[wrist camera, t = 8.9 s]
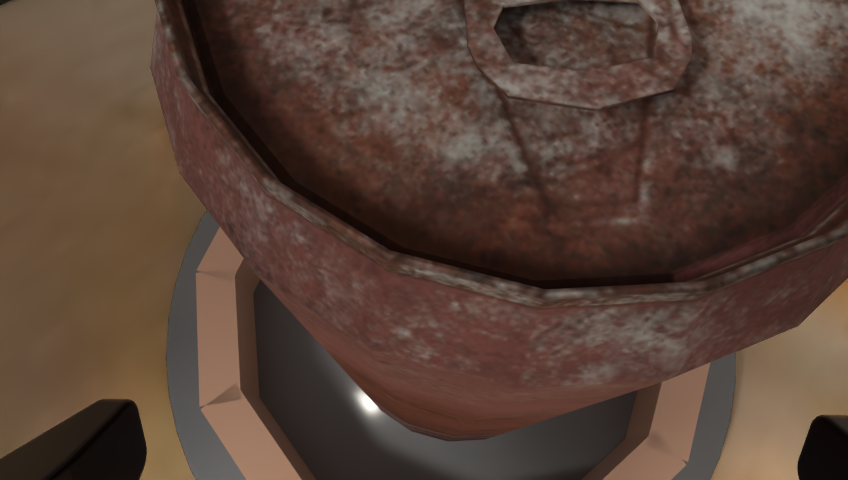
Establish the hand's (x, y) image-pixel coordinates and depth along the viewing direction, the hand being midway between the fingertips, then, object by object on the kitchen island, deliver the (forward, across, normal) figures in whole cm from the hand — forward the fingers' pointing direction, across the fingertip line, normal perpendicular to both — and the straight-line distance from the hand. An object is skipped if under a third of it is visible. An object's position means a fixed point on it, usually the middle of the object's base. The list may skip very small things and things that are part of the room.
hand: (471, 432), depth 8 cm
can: (+8, 0, +4) cm, 9 cm away
